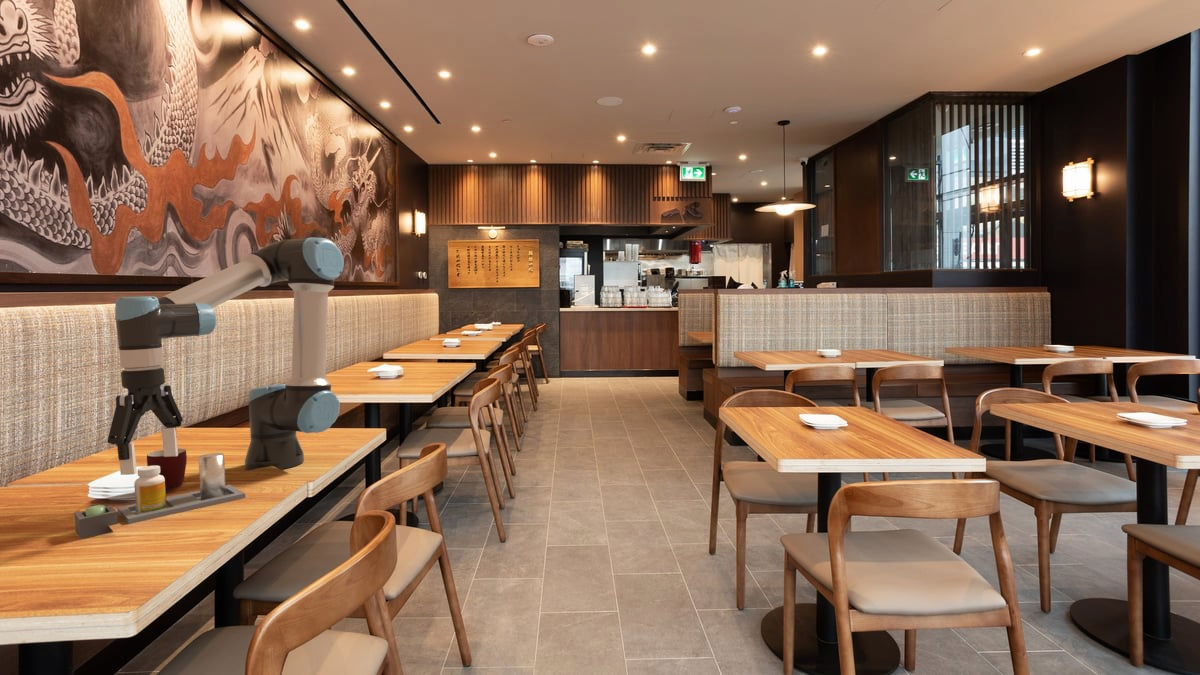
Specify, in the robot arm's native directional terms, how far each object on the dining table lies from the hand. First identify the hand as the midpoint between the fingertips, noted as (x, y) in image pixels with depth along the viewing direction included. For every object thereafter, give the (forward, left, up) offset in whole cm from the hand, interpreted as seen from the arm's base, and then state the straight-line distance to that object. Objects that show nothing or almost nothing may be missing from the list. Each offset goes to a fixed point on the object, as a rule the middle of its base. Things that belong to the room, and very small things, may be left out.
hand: (151, 464), depth 135 cm
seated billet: (-12, 0, -10) cm, 15 cm away
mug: (-7, -18, -12) cm, 23 cm away
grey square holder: (+10, +1, -12) cm, 15 cm away
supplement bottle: (0, 0, -10) cm, 10 cm away
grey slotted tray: (-6, 0, -12) cm, 13 cm away
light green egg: (+10, +1, -11) cm, 15 cm away
